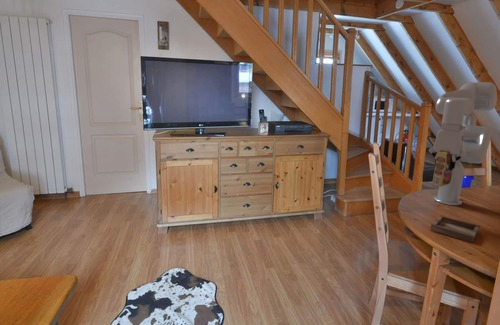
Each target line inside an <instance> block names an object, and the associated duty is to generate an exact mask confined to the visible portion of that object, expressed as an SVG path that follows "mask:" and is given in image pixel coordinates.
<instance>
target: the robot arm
mask: <svg viewBox="0 0 500 325" xmlns="http://www.w3.org/2000/svg"><path fill="white" fill-rule="evenodd" d="M497 90H498V89H497V86H496V84H495V83H493V82H489V81H487V82H485V81H484V82H482V81H481V82H480V81H477V82H476V81H472V82H471V81H470V82H466V83H464V84H463V85H461V87H459V88H458V89H456V90H453V91H449V92H446V93H443V94H441V96H439V98H438V99H437V101H436V103H435V111H436V113H437V114H439V115H442V117H441V118H442V120H441V124H440V129H439V130H438V131H437V134H436V137H435V141H434V145H432V146H431V147H430V148H429V149H428V152H429V153H430V154H431V155H432V157H434V159H435V160H434V166H435V165H436V159H437V154H438V152H440V151H442V152H449V153H450V155H452V161H451V163H450V169H449V170H453V171H452V176H451V182H450V184H447V185H444V186H442V187H440V186H438V192H437V195H435V196H433V200H434V201H436V202H437V203H440V204H444V205H449V206H461V205H463V200H461V199H460V196H461V192H462V186H463V182H464V181H463V180H464V175H465V168H464V166H463V164H462V163H461V162H464V163H472V164H482V163H483V162H484V161H485V159H486V156H487V152H488V149H489V146H490V141H491V137H492V132H491V129H490V128H489V127H487V126H479V125H477V118H476V117H475V114H473V112H474V111H485V112H486V111H492V110H494V109H495V108H496V106H497V102H498V96H497V95H498V92H497Z"/></svg>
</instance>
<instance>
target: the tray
mask: <svg viewBox="0 0 500 325" xmlns="http://www.w3.org/2000/svg"><path fill="white" fill-rule="evenodd" d="M480 228H481V225H479V224H475V223H471V222H467V221H463V220H459V219H456V218H452V217H448V216H444V215H439V216H438V217H437V218H436V220H434V221H433V222H432V223H431V225H430V231H431V232H435V233H437V234H442V235H445V236H448V237H450V238H451V237H452V238H455V239H458V240H462V241H465V242H469V243H471V244H473V242H474V240H475V239H476V237H477V235H478V234H479V232H480Z"/></svg>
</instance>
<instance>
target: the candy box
mask: <svg viewBox="0 0 500 325" xmlns="http://www.w3.org/2000/svg"><path fill="white" fill-rule="evenodd" d="M436 154H437V153H436ZM451 161H452V155H450V153H449V152H442V151H440V152H438V154H437V159H436V165H435V164H434V171H433V177H432V182H431V185H432V186H436V187H439V186H440V187H442V186H444V185H447V184H450V182H451V176H452V171H453V170H449V169H450V163H451Z"/></svg>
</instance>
